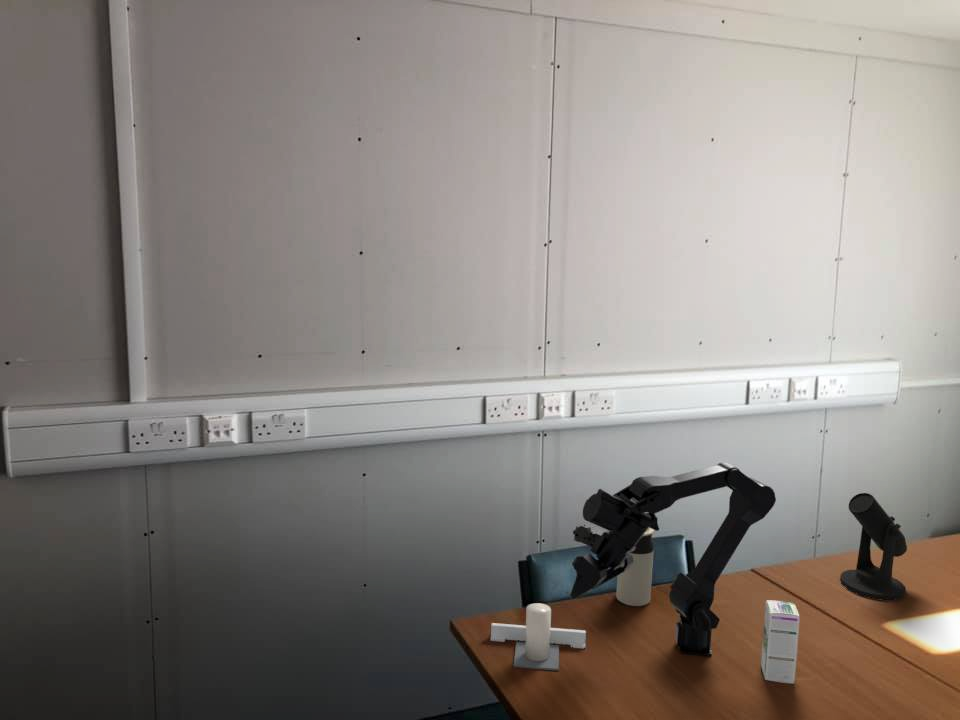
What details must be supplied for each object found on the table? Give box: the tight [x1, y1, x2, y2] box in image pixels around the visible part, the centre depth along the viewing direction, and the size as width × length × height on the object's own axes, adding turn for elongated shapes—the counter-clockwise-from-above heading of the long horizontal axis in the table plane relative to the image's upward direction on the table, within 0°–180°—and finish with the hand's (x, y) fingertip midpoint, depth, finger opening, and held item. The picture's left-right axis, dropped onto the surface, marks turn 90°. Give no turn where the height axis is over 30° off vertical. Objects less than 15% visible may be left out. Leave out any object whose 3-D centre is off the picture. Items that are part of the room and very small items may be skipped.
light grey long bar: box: [490, 622, 587, 649], centre depth 164 cm, size 20×3×3 cm, turn 84°
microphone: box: [839, 492, 908, 601], centre depth 193 cm, size 15×17×25 cm
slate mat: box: [513, 641, 560, 671], centre depth 158 cm, size 9×9×1 cm
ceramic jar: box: [524, 602, 552, 661], centre depth 157 cm, size 5×5×10 cm
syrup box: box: [760, 599, 800, 685], centre depth 153 cm, size 6×6×14 cm
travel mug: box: [615, 528, 655, 607], centre depth 183 cm, size 8×8×18 cm
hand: (581, 592), depth 159 cm, fingers open, 9 cm apart
